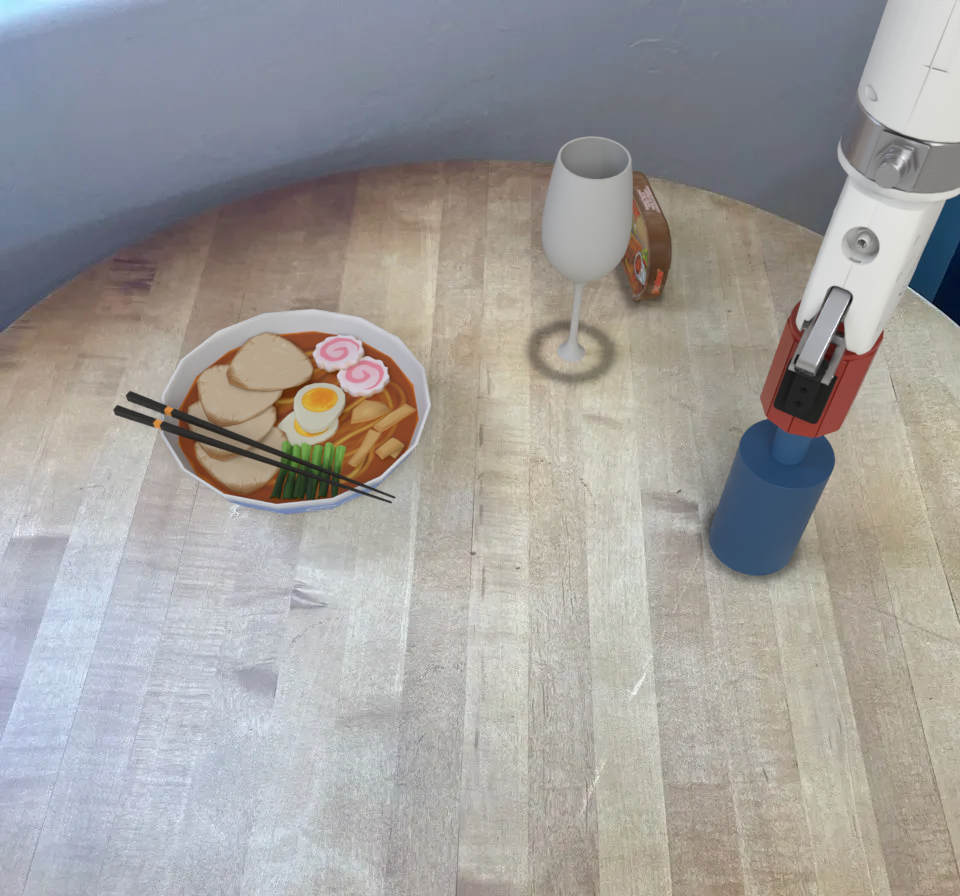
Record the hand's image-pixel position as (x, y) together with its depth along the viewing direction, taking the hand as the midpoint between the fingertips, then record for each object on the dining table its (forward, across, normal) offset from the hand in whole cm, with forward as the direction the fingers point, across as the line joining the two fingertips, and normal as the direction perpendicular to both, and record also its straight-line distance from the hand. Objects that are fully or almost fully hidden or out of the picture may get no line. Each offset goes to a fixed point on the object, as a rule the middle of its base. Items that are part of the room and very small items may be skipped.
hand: (815, 380), depth 69 cm
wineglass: (+20, +12, +24) cm, 33 cm away
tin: (+20, +27, +25) cm, 42 cm away
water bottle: (+19, 0, 0) cm, 19 cm away
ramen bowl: (+20, -12, +38) cm, 44 cm away
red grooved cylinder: (+2, 0, 0) cm, 2 cm away
